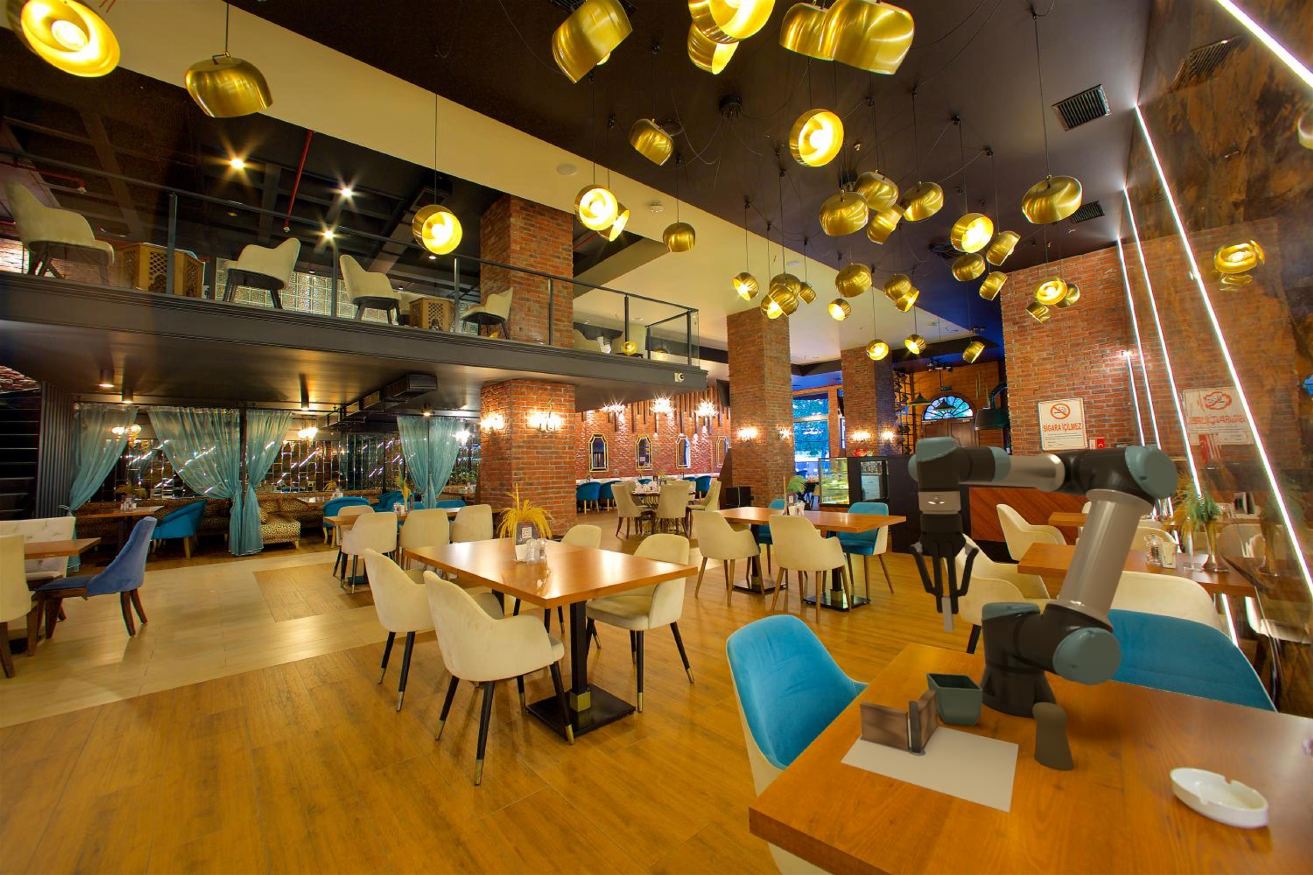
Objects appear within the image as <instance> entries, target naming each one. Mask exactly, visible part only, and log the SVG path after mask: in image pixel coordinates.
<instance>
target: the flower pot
mask: <svg viewBox="0 0 1313 875" xmlns="http://www.w3.org/2000/svg"><path fill="white" fill-rule="evenodd" d="M925 675H926V681H927V686H928V689H929V690H934V691H936V692H937V695H936V704H937V716H939V717H940V719H941V720H942V721H943V723H944V724H946V725H959V726H962V725H963V726H976V724H978V721H979V720H980V717H981V715H982V707H983V702H982V692H983V689H982V688H981V687H980V686H979V685H978V683H977V682H975V681H974V680H973V679H972V678H971V676H969V675H967V674H950V673H934V672H927V673H926V674H925Z"/></svg>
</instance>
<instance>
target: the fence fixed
mask: <svg viewBox="0 0 1313 875" xmlns="http://www.w3.org/2000/svg"><path fill="white" fill-rule="evenodd" d="M859 707H860V725H861V726H860V727H861V734H862V739H865V740H869V741H873V742H877V743H880V744H884V745H888V746H892V747H896V748H899V749H903V750H907V751H908V750H909V748H910V745H909V729H908V719H910V733H911V750H912V752H914V753H921V746H920V730H919V715H918V703H917V701H915V700H909V701H908V710H904V709H899V708H897V707H896V708H895V707H891V706H886V705H881V704H877V703H873V702H868V701H864V700H862V701H861V702H860V703H859ZM908 715H909V716H908Z"/></svg>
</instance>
